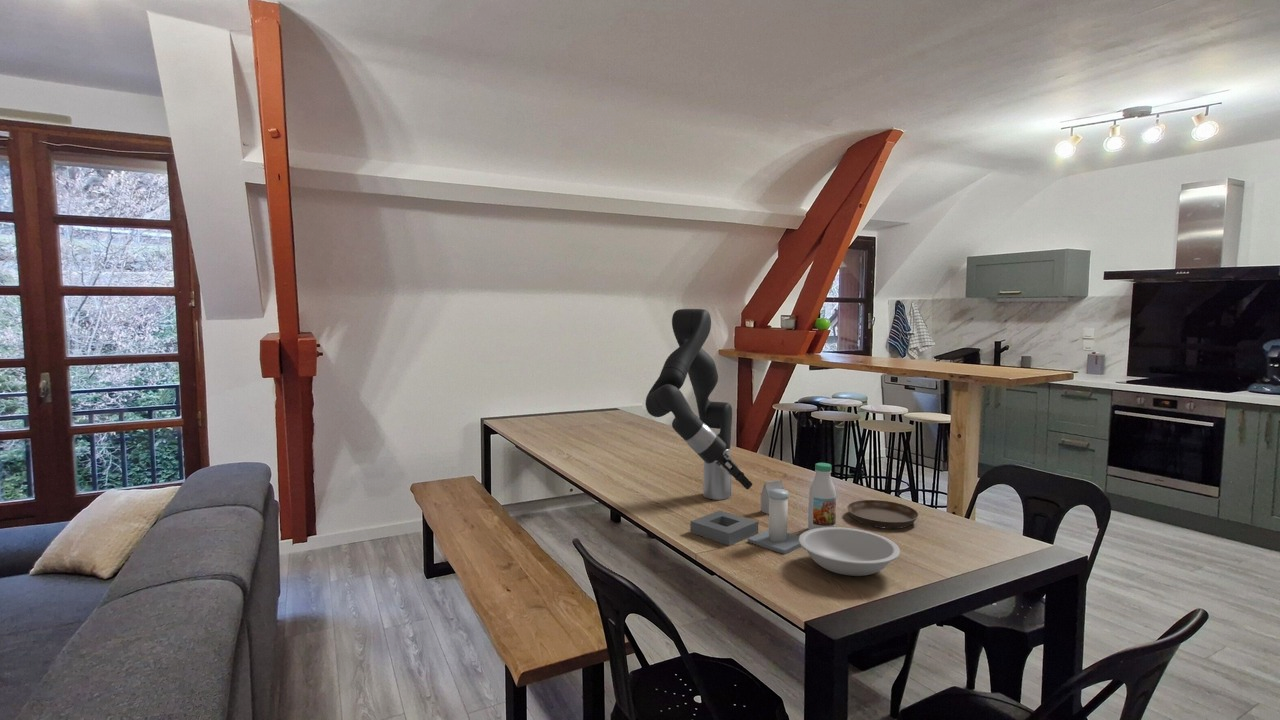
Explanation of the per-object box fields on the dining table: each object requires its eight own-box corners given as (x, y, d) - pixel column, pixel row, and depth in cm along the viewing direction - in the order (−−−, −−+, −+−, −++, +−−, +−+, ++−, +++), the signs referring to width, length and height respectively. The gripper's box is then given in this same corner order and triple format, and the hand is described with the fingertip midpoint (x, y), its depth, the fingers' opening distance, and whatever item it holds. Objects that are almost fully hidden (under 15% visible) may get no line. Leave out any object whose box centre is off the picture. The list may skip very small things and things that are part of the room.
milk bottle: (803, 531, 180) (804, 464, 179) (815, 524, 186) (817, 459, 184) (827, 537, 175) (829, 468, 173) (839, 530, 180) (841, 464, 179)
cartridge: (774, 533, 175) (775, 487, 174) (791, 538, 171) (792, 491, 170) (764, 538, 171) (764, 491, 170) (780, 543, 167) (781, 495, 166)
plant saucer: (882, 535, 177) (882, 524, 177) (832, 514, 196) (833, 504, 196) (933, 526, 186) (933, 515, 185) (881, 506, 204) (881, 496, 204)
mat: (771, 531, 180) (771, 528, 180) (808, 542, 171) (808, 538, 171) (747, 542, 171) (747, 538, 171) (785, 554, 163) (785, 550, 163)
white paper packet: (784, 511, 198) (785, 481, 197) (767, 514, 195) (768, 483, 194) (777, 508, 201) (778, 478, 200) (760, 511, 198) (761, 481, 197)
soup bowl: (921, 583, 145) (922, 556, 145) (833, 596, 139) (834, 568, 138) (858, 546, 168) (859, 523, 168) (780, 556, 162) (781, 531, 161)
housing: (719, 521, 188) (720, 510, 188) (758, 533, 178) (758, 521, 178) (690, 532, 178) (690, 521, 178) (729, 545, 168) (729, 533, 168)
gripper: (721, 437, 159) (763, 479, 162) (708, 427, 174) (747, 466, 176) (701, 458, 159) (743, 500, 161) (690, 446, 173) (728, 485, 176)
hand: (745, 482), depth 169 cm, fingers open, 8 cm apart
